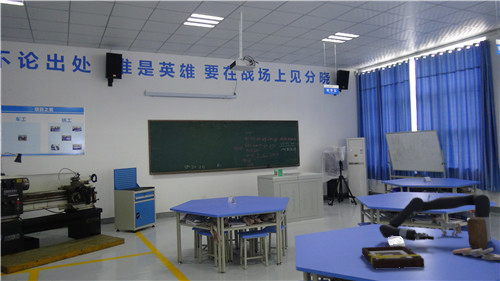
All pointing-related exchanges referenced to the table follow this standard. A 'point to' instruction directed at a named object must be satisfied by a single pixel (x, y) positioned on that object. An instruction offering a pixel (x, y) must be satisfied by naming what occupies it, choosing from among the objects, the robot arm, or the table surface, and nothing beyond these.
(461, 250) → the domino
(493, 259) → the domino
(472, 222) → the block
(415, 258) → the picture frame
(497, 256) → the domino
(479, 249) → the domino
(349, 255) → the table surface
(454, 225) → the unicorn figurine
